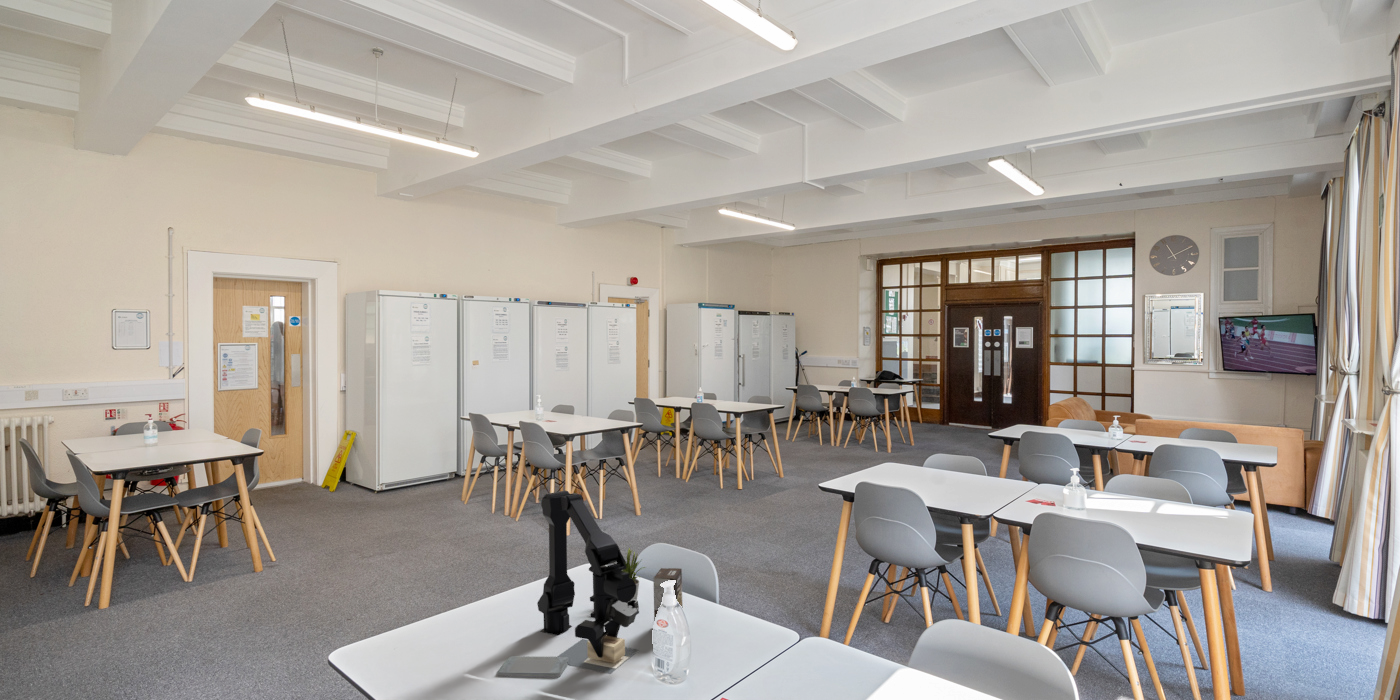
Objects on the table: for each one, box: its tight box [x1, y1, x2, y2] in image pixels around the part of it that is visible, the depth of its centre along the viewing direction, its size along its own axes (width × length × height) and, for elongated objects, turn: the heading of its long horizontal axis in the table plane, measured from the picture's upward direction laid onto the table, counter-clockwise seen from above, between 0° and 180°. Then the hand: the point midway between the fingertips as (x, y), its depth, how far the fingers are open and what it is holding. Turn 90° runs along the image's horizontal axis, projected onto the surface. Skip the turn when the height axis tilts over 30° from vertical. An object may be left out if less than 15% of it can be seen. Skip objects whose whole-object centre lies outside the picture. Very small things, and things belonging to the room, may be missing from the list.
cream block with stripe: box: [587, 635, 626, 663], centre depth 172 cm, size 8×5×4 cm, turn 65°
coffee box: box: [652, 567, 684, 621], centre depth 190 cm, size 9×6×16 cm
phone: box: [496, 655, 569, 679], centre depth 168 cm, size 8×16×1 cm, turn 83°
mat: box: [556, 638, 640, 675], centre depth 174 cm, size 18×14×1 cm
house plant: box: [613, 547, 647, 602], centre depth 213 cm, size 14×14×16 cm
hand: (606, 652), depth 172 cm, fingers open, 5 cm apart
